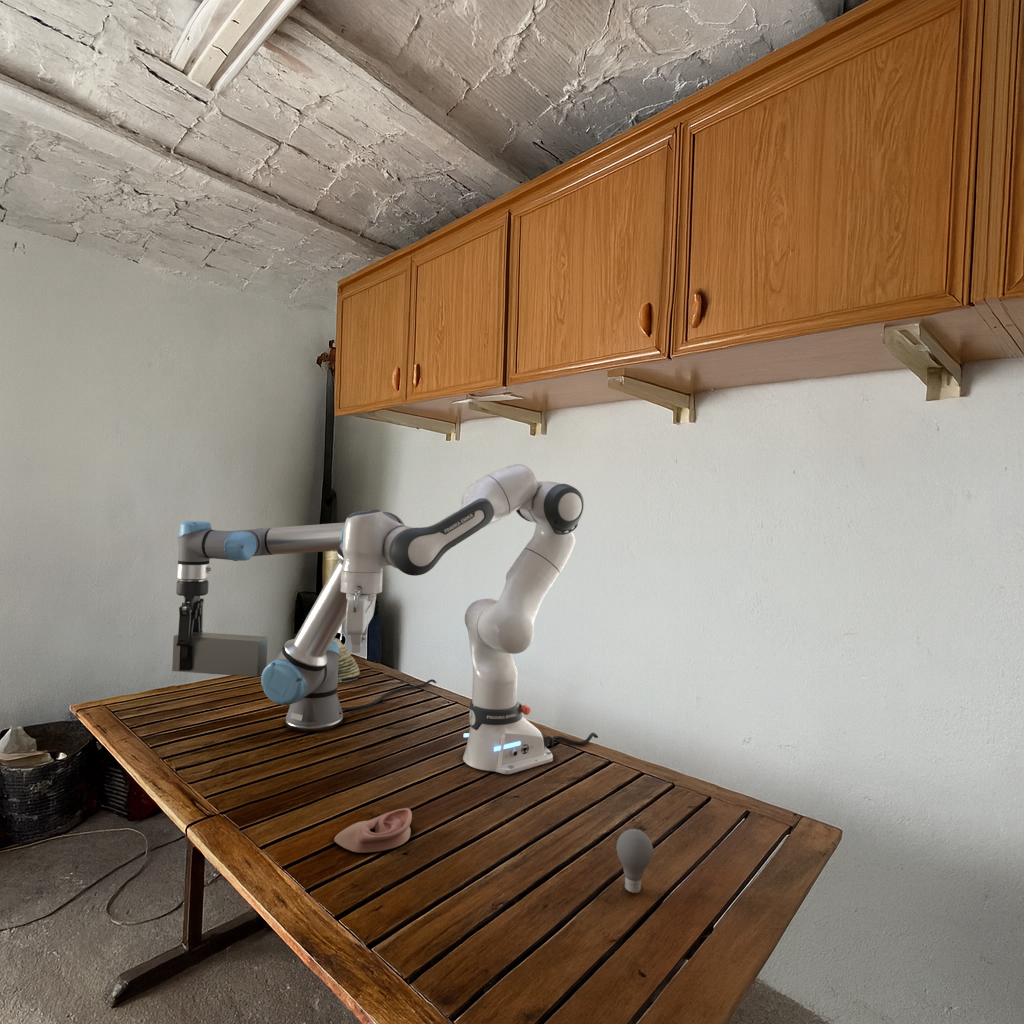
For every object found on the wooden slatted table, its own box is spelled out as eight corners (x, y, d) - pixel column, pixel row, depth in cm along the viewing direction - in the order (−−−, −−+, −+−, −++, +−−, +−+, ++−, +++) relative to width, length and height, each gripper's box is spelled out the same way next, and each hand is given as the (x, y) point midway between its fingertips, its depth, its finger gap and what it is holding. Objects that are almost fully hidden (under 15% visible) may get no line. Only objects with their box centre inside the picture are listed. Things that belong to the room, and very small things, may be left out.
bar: (171, 671, 165) (173, 635, 165) (184, 665, 170) (185, 631, 170) (257, 677, 163) (258, 641, 163) (266, 671, 169) (268, 636, 169)
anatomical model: (326, 826, 114) (355, 797, 125) (325, 847, 114) (354, 817, 126) (396, 837, 112) (418, 806, 123) (395, 859, 112) (417, 827, 123)
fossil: (300, 681, 213) (301, 637, 213) (350, 673, 226) (352, 631, 226) (311, 688, 207) (313, 642, 207) (362, 679, 219) (364, 636, 219)
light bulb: (610, 879, 108) (613, 822, 108) (644, 879, 109) (647, 822, 109) (619, 902, 102) (622, 840, 102) (655, 901, 103) (658, 840, 103)
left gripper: (198, 585, 158) (194, 677, 159) (217, 575, 177) (213, 657, 178) (165, 584, 157) (161, 677, 157) (188, 574, 176) (184, 657, 176)
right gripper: (371, 591, 128) (368, 659, 128) (380, 578, 148) (378, 637, 149) (339, 590, 127) (336, 658, 128) (353, 577, 148) (350, 636, 148)
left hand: (189, 666), depth 167 cm, fingers closed on bar, 6 cm apart
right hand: (359, 646), depth 138 cm, fingers open, 8 cm apart
